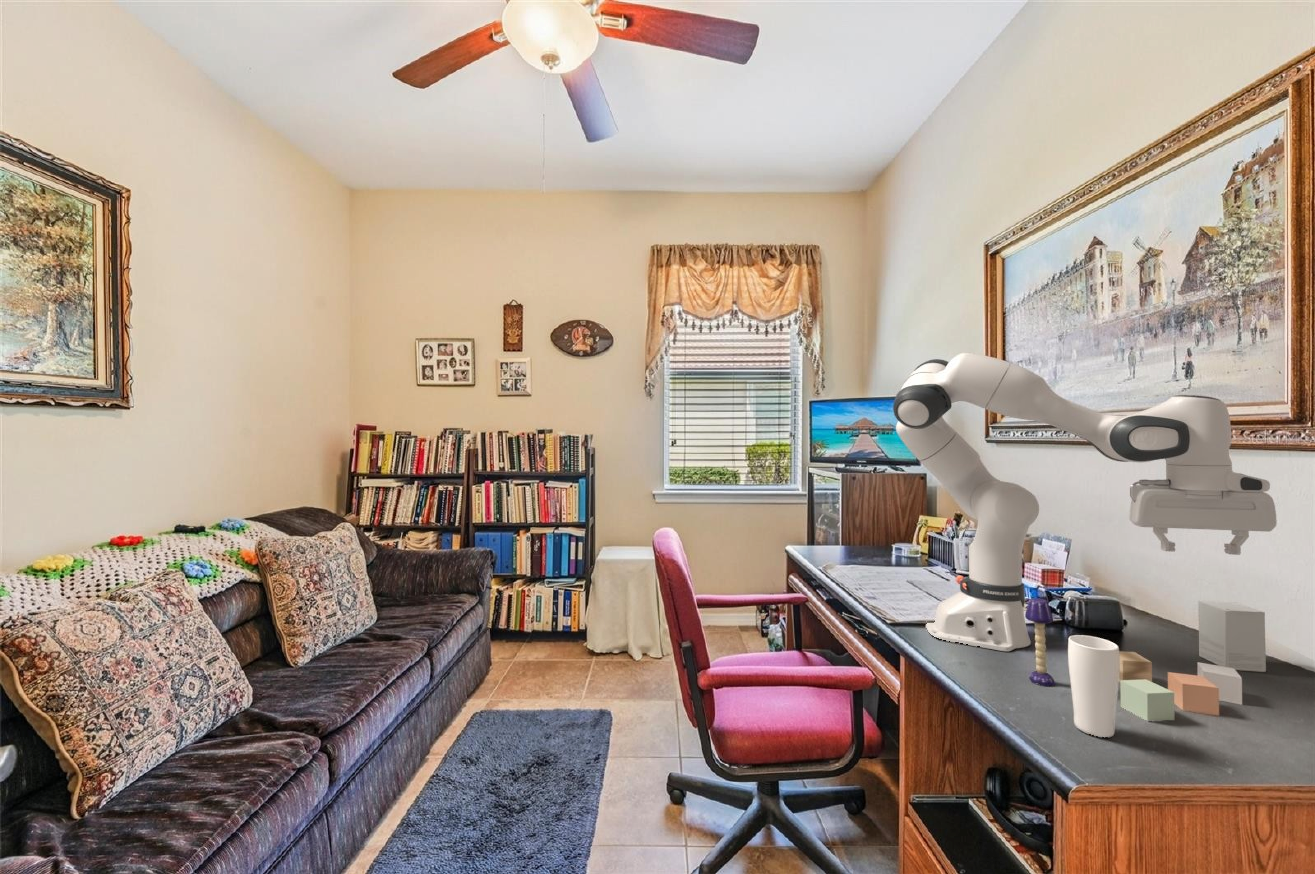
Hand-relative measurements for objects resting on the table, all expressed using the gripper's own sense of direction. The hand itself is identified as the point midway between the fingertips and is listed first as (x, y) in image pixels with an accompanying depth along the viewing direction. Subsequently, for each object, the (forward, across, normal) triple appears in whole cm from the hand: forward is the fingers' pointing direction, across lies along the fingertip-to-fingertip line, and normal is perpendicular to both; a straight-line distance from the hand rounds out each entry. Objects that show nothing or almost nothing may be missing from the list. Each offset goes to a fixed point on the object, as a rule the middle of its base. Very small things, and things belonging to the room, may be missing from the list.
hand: (1199, 552), depth 101 cm
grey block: (+28, +3, +2) cm, 28 cm away
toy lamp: (+28, -27, -3) cm, 39 cm away
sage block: (+28, -13, -11) cm, 32 cm away
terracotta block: (+28, -4, -5) cm, 28 cm away
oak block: (+28, -10, +4) cm, 29 cm away
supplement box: (+28, +14, +21) cm, 37 cm away
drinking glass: (+28, -24, -21) cm, 42 cm away
